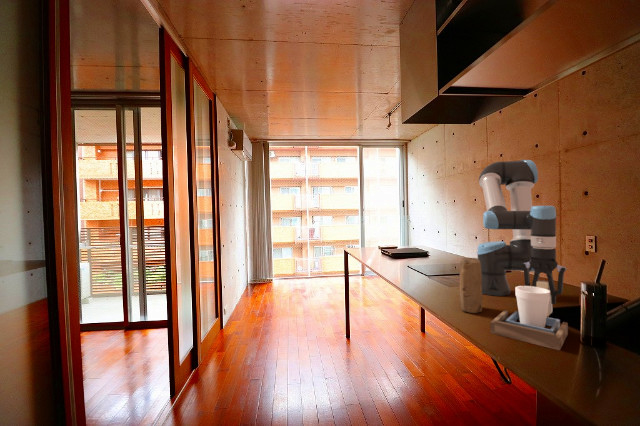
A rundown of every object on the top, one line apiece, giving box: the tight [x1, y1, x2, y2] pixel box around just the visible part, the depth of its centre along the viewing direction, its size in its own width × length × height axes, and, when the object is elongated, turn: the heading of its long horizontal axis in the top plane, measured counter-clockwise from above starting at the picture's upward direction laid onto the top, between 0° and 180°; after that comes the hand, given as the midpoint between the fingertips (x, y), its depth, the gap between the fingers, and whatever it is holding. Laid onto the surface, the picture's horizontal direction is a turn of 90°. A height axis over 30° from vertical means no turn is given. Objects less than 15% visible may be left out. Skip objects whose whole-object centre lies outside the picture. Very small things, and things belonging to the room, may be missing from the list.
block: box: [459, 257, 483, 314], centre depth 121 cm, size 11×8×20 cm
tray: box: [506, 279, 561, 335], centre depth 106 cm, size 25×13×12 cm, turn 135°
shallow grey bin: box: [489, 309, 569, 351], centre depth 97 cm, size 16×18×4 cm
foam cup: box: [514, 285, 551, 328], centre depth 101 cm, size 10×9×13 cm
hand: (543, 310), depth 114 cm, fingers closed on tray, 3 cm apart
